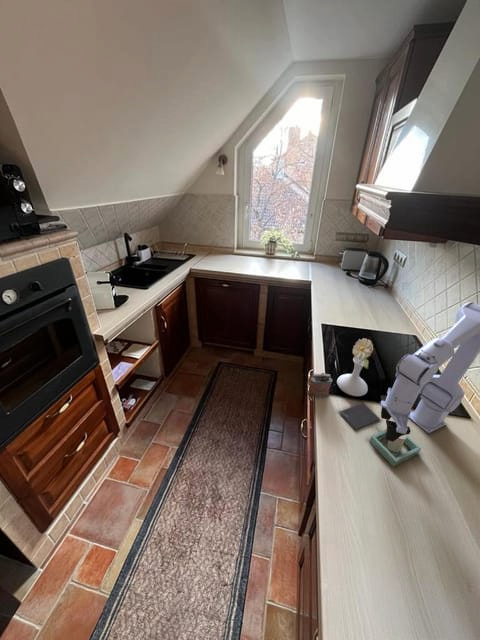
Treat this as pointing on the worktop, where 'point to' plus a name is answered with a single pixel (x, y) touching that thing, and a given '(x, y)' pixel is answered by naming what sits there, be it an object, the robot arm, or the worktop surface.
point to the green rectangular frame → (388, 455)
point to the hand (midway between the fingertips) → (386, 428)
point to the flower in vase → (357, 370)
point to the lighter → (319, 385)
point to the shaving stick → (396, 444)
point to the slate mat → (359, 416)
